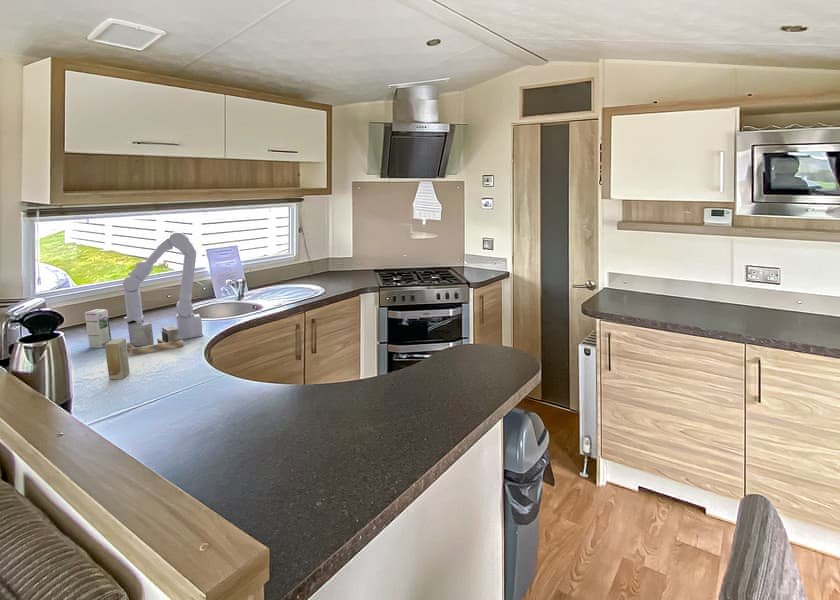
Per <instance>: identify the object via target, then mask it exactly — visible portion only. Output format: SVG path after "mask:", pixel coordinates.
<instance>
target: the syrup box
mask: <svg viewBox="0 0 840 600" xmlns="http://www.w3.org/2000/svg"><path fill="white" fill-rule="evenodd" d="M84 319H85V323H86V324H85V325H86V331H87V338H88V344H89V345H88V346H89V348H91V349H92V348H93V349H103V348H105V344H106V343H108V342H109V341H111V340H112V334H111V327H110V319H109V312H108V309H105V308H100V309H99V308H98V309H97V308H96V309H93V310H89V311H85V312H84Z"/></svg>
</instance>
